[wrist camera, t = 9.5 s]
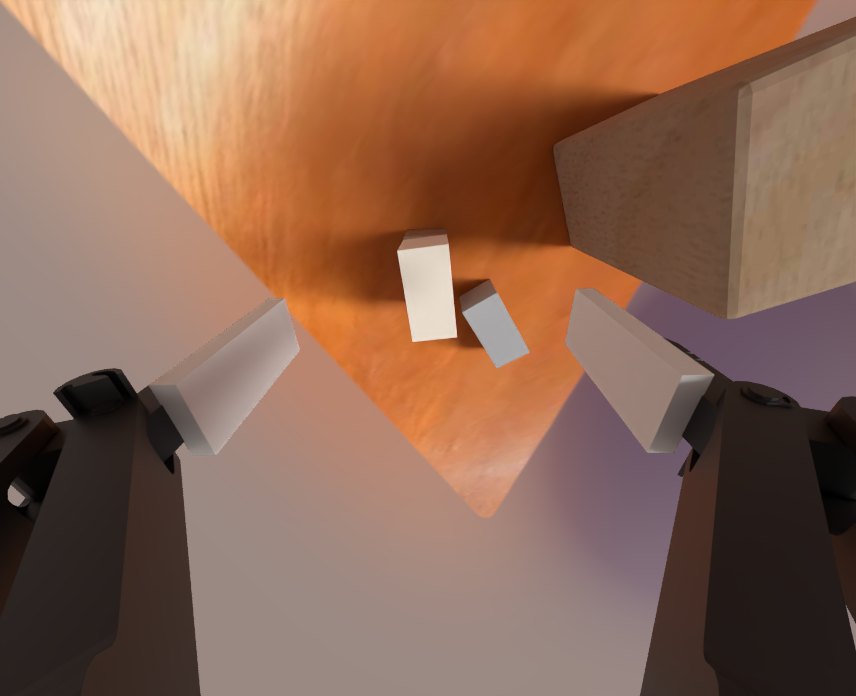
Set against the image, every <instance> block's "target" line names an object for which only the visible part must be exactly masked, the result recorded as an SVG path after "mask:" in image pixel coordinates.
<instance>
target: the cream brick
mask: <svg viewBox="0 0 856 696" xmlns="http://www.w3.org/2000/svg"><path fill="white" fill-rule="evenodd" d="M397 253H398V259H399V265H400V271H401V276H402V282H403V288H404V294H405V300H406V306H407V311H408V317H409V323H410V329H411V335H412V341H413V342H416V341H425V340H435V339H445V338H455V337H457V330H456V319H455V308H454V297H453V286H452V275H451V264H450V254H449V243H448V238H447V234H445V235H437V236H430V237H422V238H415V239H407V240H403V242H402V243H401V245H400V247H399V248H398V250H397Z"/></svg>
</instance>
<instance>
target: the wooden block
mask: <svg viewBox="0 0 856 696" xmlns="http://www.w3.org/2000/svg"><path fill="white" fill-rule="evenodd" d="M553 154H554V160H555V165H556V170H557V175H558V181H559V186H560V191H561V197H562V202H563V207H564V212H565V218H566V223H567V228H568V233H569V239H570V244H571V246H572V247H573V248H575V249H577V250H580V251H582V252H584V253H586V254H588V255H590V256H592V257H594V258H596V259H598V260H600V261H602V262H605V263H607V264H609V265H611V266H613V267H615V268H617V269H619V270H621V271H623V272H625V273H627V274H630V275H632V276H634V277H636V278H638V279H640V280H642V281H644V282H646V283H648V284H650V285H652V286H655V287H657V288H659V289H661V290H663V291H665V292H667V293H669V294H671V295H673V296H675V297H678V298H680V299H682V300H684V301H686V302H688V303H690V304H692V305H694V306H696V307H698V308H700V309H703V310H705V311H707V312H709V313H711V314H713V315H715V316H717V317H719V318H723V319H735V318H738V317H742V316H745V315H748V314H752V313H755V312H758V311H761V310H764V309H768V308H771V307H774V306H778V305H781V304H784V303H787V302H790V301H794V300H797V299H800V298H804V297H807V296H810V295H813V294H816V293H820V292H823V291H826V290H829V289H832V288H836V287H839V286H842V285H846V284H849V283H852V282H855V281H856V17H854V18H851V19H849V20H846V21H844V22H841V23H839V24H836V25H833V26H831V27H829V28H826V29H823V30H821V31H818V32H816V33H813V34H811V35H808V36H806V37H803V38H801V39H798V40H796V41H793V42H790V43H788V44H785V45H783V46H780V47H778V48H775V49H773V50H770V51H768V52H765V53H763V54H760V55H758V56H755V57H752V58H750V59H747V60H745V61H742V62H740V63H737V64H735V65H732V66H730V67H727V68H725V69H722V70H720V71H717V72H714V73H712V74H709V75H707V76H704V77H702V78H699V79H697V80H694V81H692V82H689V83H687V84H684V85H682V86H679V87H676V88H674V89H671V90H669V91H666V92H664V93H662V94H660V95H657V96H655V97H653V98H651V99H649V100H647V101H645V102H642V103H640V104H638V105H636V106H634V107H632V108H630V109H627V110H625V111H623V112H621V113H619V114H617V115H615V116H612V117H610V118H608V119H606V120H604V121H602V122H600V123H597V124H595V125H593V126H591V127H589V128H587V129H585V130H582V131H580V132H578V133H576V134H574V135H572V136H569V137H567V138H565V139H563V140H561V141H559V142H557V143H556V144H555V145H554V146H553Z"/></svg>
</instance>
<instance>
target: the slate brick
mask: <svg viewBox="0 0 856 696" xmlns="http://www.w3.org/2000/svg"><path fill="white" fill-rule="evenodd" d="M459 300H460V305H461V310H462V313H463V315H464V317H465V318H466V320H467V321H468V323H469V325H470V326H471V328H472V329H473V331H474V333H475V334H476V336H477V337H478V339H479V341H480V342H481V344H482V345H483V347H484V348H485V350H486V352H487V353H488V355H489V356H490V358H491V360H492V361H493V363H494V364H495V366H496V368H498V367H501V366H503V365H505V364H507V363H509V362H511V361H513V360H515V359H517V358H519V357H521V356H523V355H525V354H527V353H529V352H530V351H529V350H528V348H527V346H526V344H525V342H524V341H523V339H522V337H521V335H520V333H519V331H518V330H517V328H516V326H515V324H514V322H513V321H512V319H511V317H510V315H509V313H508V311H507V310H506V308H505V306H504V304H503V302H502V301H501V299H500V297H499V295H498V293H497V291H496V290H495V288H494V286H493V284H492V282H491V281H490V279H489V280H487V281H485V282H483V283H482V284H480V285H478V286H477V287H475V288H473V289H471V290H470V291H468V292H466V293H465V294H463V295H461V296H460V297H459Z"/></svg>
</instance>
